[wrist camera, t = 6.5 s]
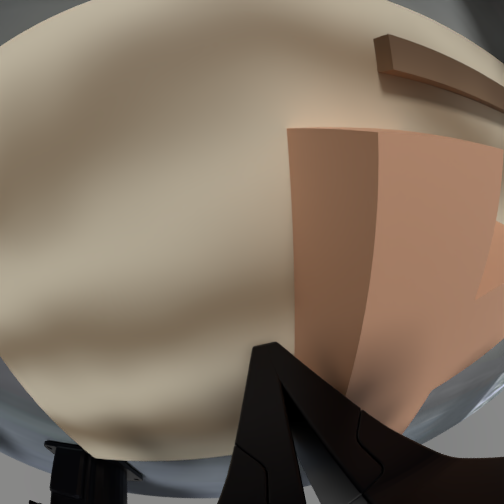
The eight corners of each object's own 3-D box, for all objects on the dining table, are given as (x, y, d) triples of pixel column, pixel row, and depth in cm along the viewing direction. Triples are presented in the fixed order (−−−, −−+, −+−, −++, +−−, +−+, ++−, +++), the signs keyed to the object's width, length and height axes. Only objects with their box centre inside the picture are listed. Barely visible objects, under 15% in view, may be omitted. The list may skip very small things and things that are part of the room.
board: (484, 338, 18) (495, 349, 16) (96, 447, 13) (94, 467, 12) (531, 94, 8) (549, 98, 7) (-59, 107, 4) (-84, 111, 2)
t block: (459, 334, 14) (495, 371, 10) (293, 404, 12) (319, 471, 8) (503, 147, 8) (563, 167, 5) (286, 128, 7) (377, 132, 3)
